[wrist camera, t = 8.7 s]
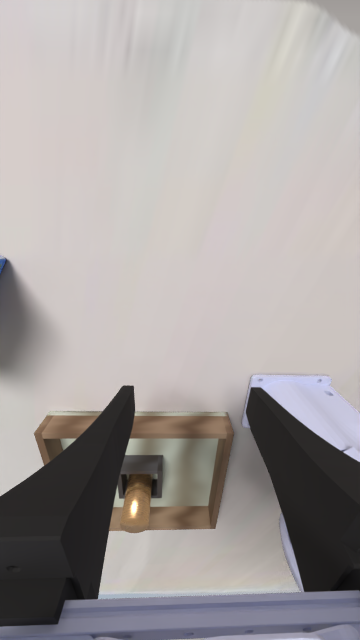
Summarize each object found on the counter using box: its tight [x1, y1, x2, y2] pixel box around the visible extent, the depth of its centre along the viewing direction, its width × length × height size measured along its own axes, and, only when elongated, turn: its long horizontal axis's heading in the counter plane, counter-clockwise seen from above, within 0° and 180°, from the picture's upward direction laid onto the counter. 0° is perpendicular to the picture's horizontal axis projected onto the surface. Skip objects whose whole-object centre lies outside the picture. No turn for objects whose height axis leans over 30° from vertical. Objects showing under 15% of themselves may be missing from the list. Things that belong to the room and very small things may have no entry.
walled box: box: [34, 411, 234, 531], centre depth 27 cm, size 22×20×3 cm
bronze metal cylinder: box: [120, 474, 153, 533], centre depth 25 cm, size 3×3×6 cm
